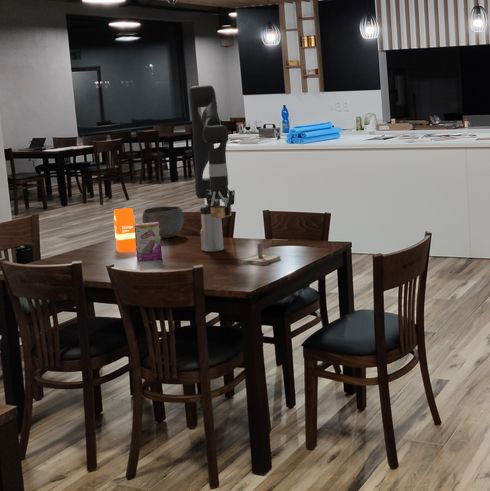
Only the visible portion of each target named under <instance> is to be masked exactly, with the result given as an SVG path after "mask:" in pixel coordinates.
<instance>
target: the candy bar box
mask: <svg viewBox="0 0 490 491" xmlns="http://www.w3.org/2000/svg"><path fill="white" fill-rule="evenodd" d="M134 228H135V240H136V260H137V262H148V261H149V262H151V261H158V260H159V261H160V260H163V252H162V239H161V237H160V224H159V222H153V223H143V222H142V223H135V224H134Z"/></svg>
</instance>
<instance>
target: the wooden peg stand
mask: <svg viewBox="0 0 490 491" xmlns="http://www.w3.org/2000/svg"><path fill="white" fill-rule="evenodd" d="M280 260H281V256H280V255H277V254H275V255H273V254H263V244H262V243H261V242H258V243H257V253H256V254H254V255H251V256H248V257H244V258H242V259H240V264H244V265H245V264H246V265H258V266H266V265H269V264H271V263H275V262H276V261H280Z"/></svg>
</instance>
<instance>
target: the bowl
mask: <svg viewBox="0 0 490 491" xmlns="http://www.w3.org/2000/svg"><path fill="white" fill-rule="evenodd" d="M141 219H142V223H153V222H159V224H160V237H161V240H163V239H162V238H167V239H170V237H171V238H173V237H175V236H177V235H178V234H179V233H180V231H181V230H182V228H183V226H184V223H185V216H184V213H183V210H182V208H181V207H180V206H176V205H174V206H173V205H171V206H166V205H165V206H154V207H150V208H149V207H148V208H146V209H144V210H143V212H142V218H141Z"/></svg>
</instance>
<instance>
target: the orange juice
mask: <svg viewBox="0 0 490 491" xmlns="http://www.w3.org/2000/svg"><path fill="white" fill-rule="evenodd" d="M134 224H136V220H135V216H134V210H133V207H126V208H115V209H113V226H114V235H115V236H114V237H115V247H116V251H117V252H118V253H127V252H135V251H136V240H135V228H134Z"/></svg>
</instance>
